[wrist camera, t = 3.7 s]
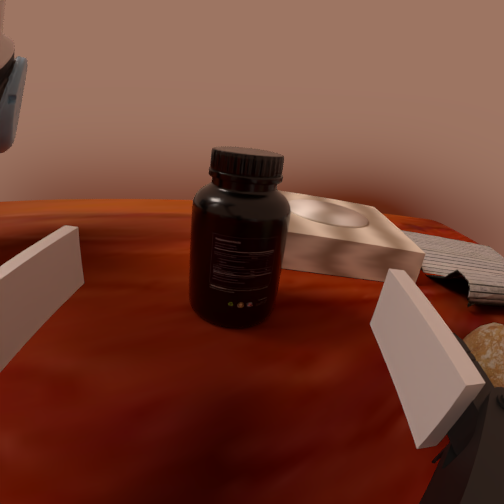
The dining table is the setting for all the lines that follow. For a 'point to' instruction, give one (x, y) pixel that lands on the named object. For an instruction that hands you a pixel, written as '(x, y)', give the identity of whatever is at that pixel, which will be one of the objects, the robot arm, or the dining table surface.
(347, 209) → the stand
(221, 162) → the supplement bottle
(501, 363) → the bread roll
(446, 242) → the mat
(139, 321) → the dining table surface
